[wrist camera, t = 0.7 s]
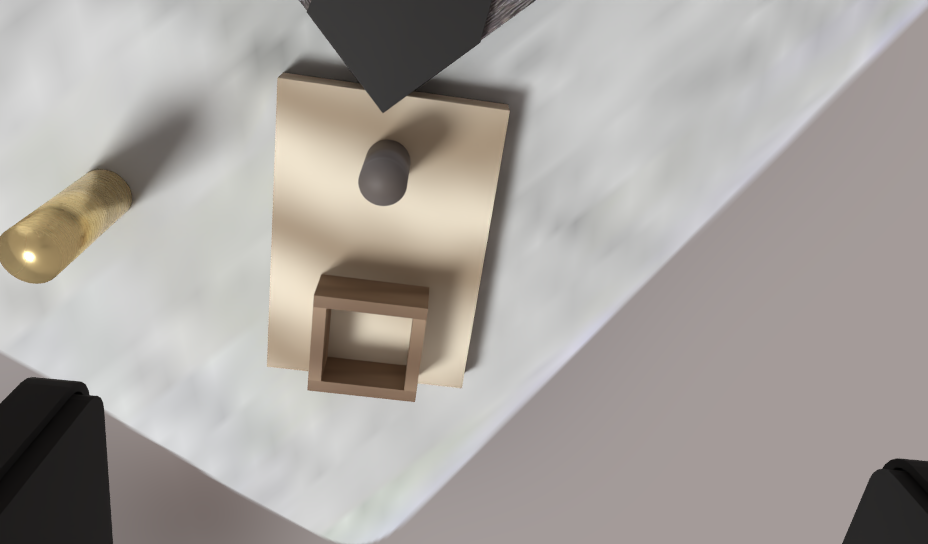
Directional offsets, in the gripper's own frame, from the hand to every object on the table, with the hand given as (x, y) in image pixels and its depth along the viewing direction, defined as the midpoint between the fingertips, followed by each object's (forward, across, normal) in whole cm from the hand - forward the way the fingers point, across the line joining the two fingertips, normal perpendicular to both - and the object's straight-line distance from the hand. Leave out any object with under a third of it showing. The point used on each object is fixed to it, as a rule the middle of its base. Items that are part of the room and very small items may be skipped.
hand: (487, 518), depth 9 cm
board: (+27, +3, +7) cm, 28 cm away
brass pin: (+27, +16, +6) cm, 32 cm away
